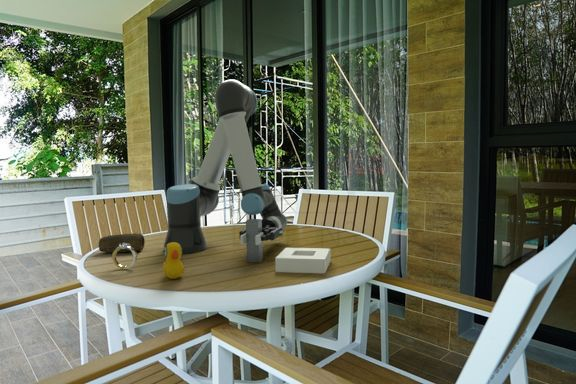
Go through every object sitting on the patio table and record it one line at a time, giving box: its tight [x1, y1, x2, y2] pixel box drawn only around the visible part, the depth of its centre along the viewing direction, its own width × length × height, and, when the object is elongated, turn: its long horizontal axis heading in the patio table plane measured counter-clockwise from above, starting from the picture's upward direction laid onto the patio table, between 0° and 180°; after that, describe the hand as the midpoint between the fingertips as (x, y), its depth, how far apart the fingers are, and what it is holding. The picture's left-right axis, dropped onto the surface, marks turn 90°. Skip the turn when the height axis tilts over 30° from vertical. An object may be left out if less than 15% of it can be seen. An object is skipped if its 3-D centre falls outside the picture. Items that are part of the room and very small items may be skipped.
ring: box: [111, 243, 138, 270], centre depth 122 cm, size 7×3×8 cm, turn 83°
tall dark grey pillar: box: [245, 218, 264, 263], centre depth 129 cm, size 4×4×13 cm
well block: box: [274, 247, 331, 274], centre depth 121 cm, size 14×14×4 cm
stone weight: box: [98, 232, 146, 254], centre depth 148 cm, size 15×7×7 cm, turn 101°
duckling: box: [162, 242, 185, 280], centre depth 112 cm, size 11×5×10 cm, turn 22°
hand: (249, 240), depth 123 cm, fingers closed on tall dark grey pillar, 4 cm apart
